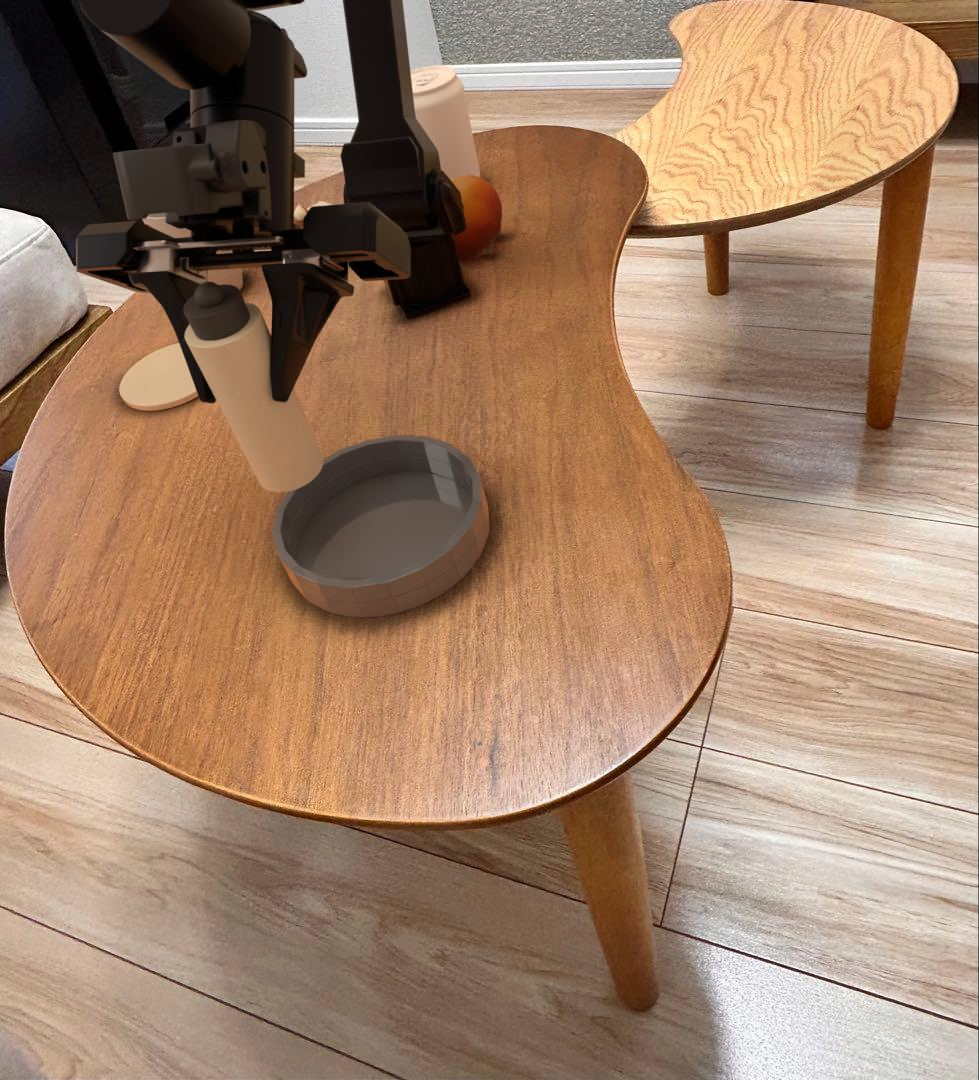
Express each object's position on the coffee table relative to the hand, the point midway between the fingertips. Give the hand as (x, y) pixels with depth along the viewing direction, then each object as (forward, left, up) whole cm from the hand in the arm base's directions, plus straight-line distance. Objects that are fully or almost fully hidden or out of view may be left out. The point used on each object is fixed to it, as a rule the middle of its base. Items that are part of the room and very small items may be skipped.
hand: (243, 402), depth 50 cm
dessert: (-9, -47, -14) cm, 50 cm away
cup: (+2, -44, -14) cm, 46 cm away
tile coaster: (+8, -30, -14) cm, 34 cm away
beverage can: (-25, -49, -14) cm, 57 cm away
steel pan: (-5, +1, -14) cm, 15 cm away
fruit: (-23, -35, -14) cm, 44 cm away
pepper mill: (-1, -1, -7) cm, 7 cm away
